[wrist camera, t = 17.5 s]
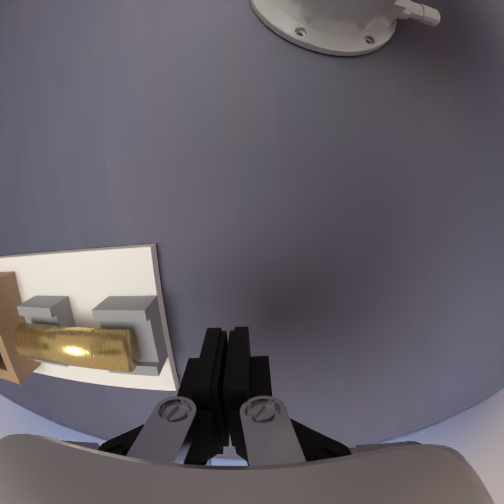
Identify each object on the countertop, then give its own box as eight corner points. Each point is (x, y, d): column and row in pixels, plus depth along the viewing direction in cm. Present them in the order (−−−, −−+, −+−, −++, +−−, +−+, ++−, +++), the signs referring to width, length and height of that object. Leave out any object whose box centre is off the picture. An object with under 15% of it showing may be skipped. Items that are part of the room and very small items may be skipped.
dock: (155, 243, 20) (128, 259, 15) (178, 382, 22) (165, 422, 17) (-36, 259, 20) (-65, 270, 15) (-10, 354, 22) (-33, 372, 17)
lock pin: (133, 322, 18) (117, 342, 15) (141, 358, 18) (128, 380, 15) (29, 317, 17) (9, 330, 15) (39, 347, 18) (21, 363, 15)
